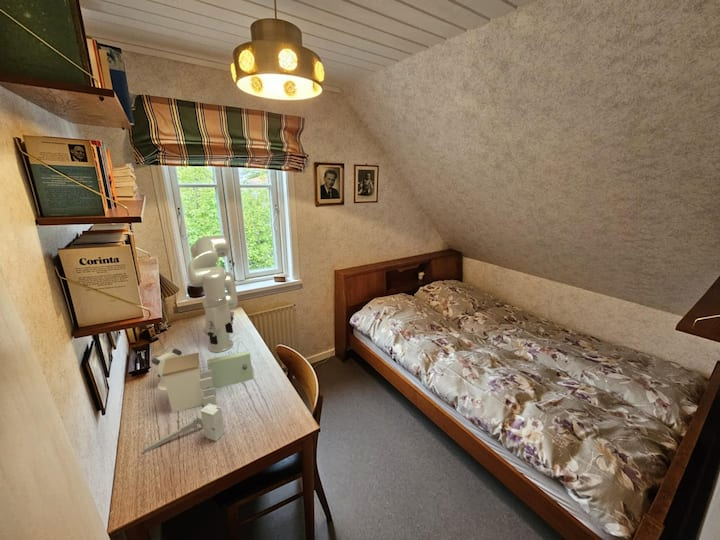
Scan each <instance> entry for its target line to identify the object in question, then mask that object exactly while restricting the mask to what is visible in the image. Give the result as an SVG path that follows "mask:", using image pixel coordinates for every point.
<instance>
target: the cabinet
mask: <svg viewBox="0 0 720 540" xmlns="http://www.w3.org/2000/svg"><path fill="white" fill-rule="evenodd" d="M162 376H163V377H164V380H165V384H166V389H167V391H166V393H167V397H168V401H169V405H170V409H171V413H172V414H174V413H177V412H180V411H186V410H188V409H193V408H196V407H200V406H203V408H204V407H205V406H207V405H208V404H209V403H210V404H212V405H216V404H217V402H216V395H217V394H216V389H215V388H214V387H212V386H213V383H212V379H213V376H212V371H211V370H208V369H207V370H204V371H202V367H201V363H200V353H199V352H195V353H190V354H185V355H179V357H175V358H170V359H166V360H165V364H164V368H163V372H162Z"/></svg>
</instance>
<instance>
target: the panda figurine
mask: <svg viewBox="0 0 720 540" xmlns="http://www.w3.org/2000/svg"><path fill="white" fill-rule="evenodd" d="M179 356H182V351H181V350H180V349H177V348H173V349H172V351H169V352H166V353H164V354H161V355H160V356H158V357H157V358H156V357H155V358H154V357H153V358H152V359H151V363H152V364H153V370H154V372H155V374H157V377H158V378H159V379H160V381H158V383H157V389H158V390H159V391H161V392H167V389H166V384H165V380H164V377H163V376H162V372H163V368H164V364H165V360H166V359H170V358H175V357H179Z"/></svg>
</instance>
